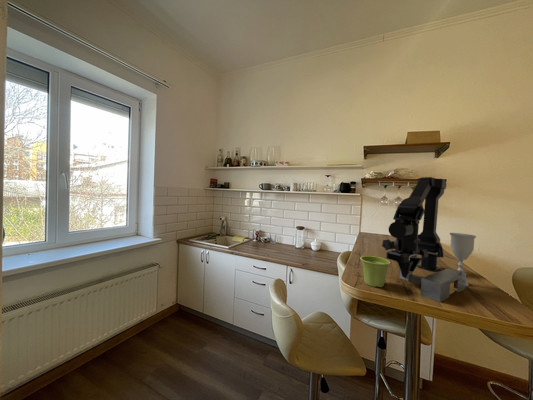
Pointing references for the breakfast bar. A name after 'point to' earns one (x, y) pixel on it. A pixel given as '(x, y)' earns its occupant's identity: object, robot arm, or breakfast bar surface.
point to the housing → (442, 284)
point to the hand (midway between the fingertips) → (406, 276)
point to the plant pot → (374, 270)
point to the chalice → (462, 248)
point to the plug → (418, 279)
